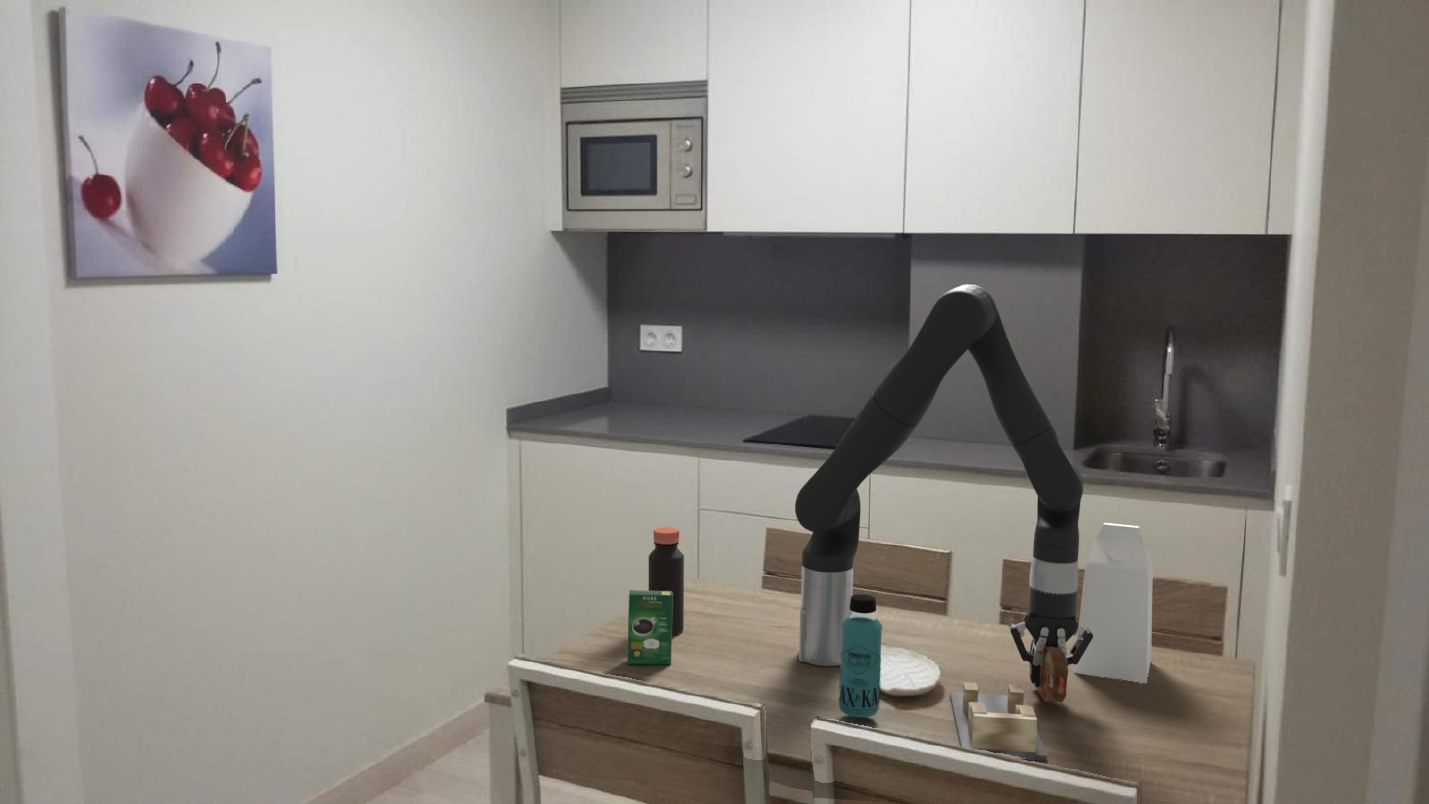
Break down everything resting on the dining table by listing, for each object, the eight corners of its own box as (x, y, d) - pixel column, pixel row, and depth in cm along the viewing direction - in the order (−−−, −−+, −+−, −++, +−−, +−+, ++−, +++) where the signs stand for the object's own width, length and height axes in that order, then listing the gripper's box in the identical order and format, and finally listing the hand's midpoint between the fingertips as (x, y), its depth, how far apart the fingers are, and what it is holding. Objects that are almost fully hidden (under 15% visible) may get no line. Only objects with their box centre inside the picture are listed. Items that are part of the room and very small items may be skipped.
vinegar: (690, 629, 217) (691, 529, 214) (670, 639, 211) (670, 536, 209) (661, 622, 221) (662, 524, 218) (641, 632, 215) (641, 531, 212)
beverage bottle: (834, 710, 179) (837, 590, 176) (875, 709, 179) (878, 589, 177) (842, 728, 172) (845, 603, 170) (884, 726, 173) (888, 602, 170)
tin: (1027, 675, 192) (1028, 627, 190) (1046, 675, 191) (1047, 627, 190) (1049, 711, 177) (1051, 660, 176) (1069, 711, 177) (1071, 660, 175)
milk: (1150, 662, 202) (1159, 521, 198) (1146, 684, 191) (1155, 536, 188) (1081, 651, 207) (1089, 514, 203) (1073, 672, 196) (1081, 528, 193)
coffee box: (672, 659, 201) (673, 589, 199) (672, 665, 198) (673, 594, 196) (627, 659, 200) (627, 589, 199) (627, 665, 198) (627, 594, 196)
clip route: (962, 755, 163) (964, 718, 163) (950, 696, 185) (951, 663, 184) (1046, 761, 162) (1048, 722, 161) (1024, 701, 183) (1025, 667, 183)
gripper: (1012, 589, 179) (1006, 692, 181) (1103, 594, 177) (1095, 697, 179) (1006, 575, 186) (1000, 674, 188) (1092, 580, 184) (1086, 680, 187)
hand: (1047, 685), depth 184 cm, fingers closed on tin, 2 cm apart
